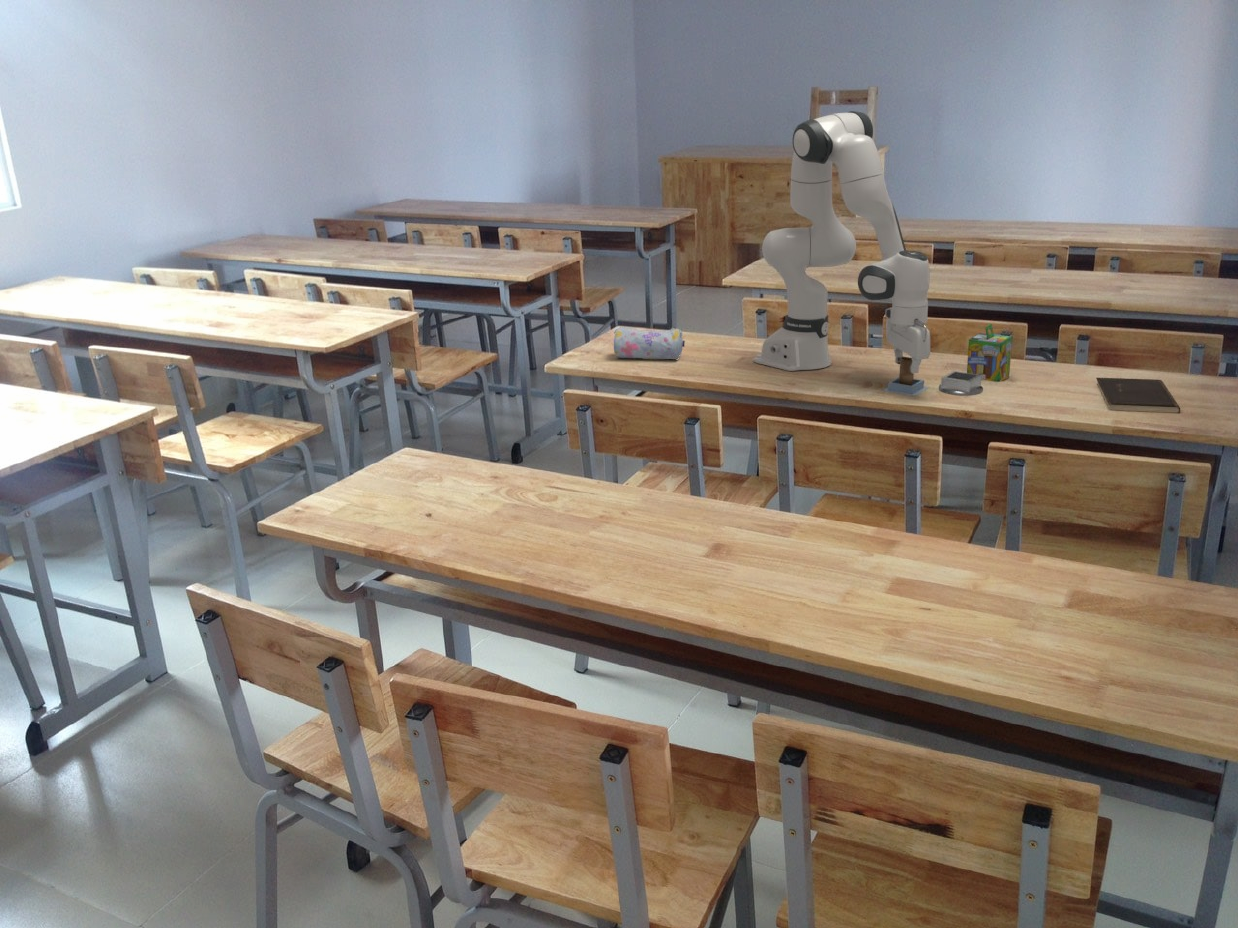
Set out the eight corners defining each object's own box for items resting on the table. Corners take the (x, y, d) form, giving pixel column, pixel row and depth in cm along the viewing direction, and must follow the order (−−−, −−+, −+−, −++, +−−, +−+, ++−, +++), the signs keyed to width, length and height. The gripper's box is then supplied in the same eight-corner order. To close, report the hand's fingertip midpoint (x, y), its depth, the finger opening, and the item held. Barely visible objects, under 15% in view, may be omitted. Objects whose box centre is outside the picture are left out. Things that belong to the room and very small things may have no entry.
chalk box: (998, 385, 286) (1003, 331, 281) (964, 380, 292) (969, 327, 287) (1010, 377, 293) (1015, 323, 288) (977, 372, 299) (981, 320, 293)
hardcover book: (1107, 412, 264) (1108, 403, 264) (1095, 385, 285) (1096, 377, 284) (1179, 415, 260) (1180, 406, 259) (1161, 388, 281) (1163, 379, 280)
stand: (881, 394, 283) (882, 383, 282) (897, 385, 290) (897, 374, 289) (914, 399, 278) (914, 388, 277) (929, 390, 284) (929, 379, 283)
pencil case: (685, 356, 327) (684, 325, 324) (680, 363, 319) (680, 332, 316) (617, 354, 331) (616, 324, 328) (611, 362, 324) (610, 331, 320)
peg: (896, 389, 283) (897, 358, 280) (902, 386, 286) (904, 355, 283) (909, 391, 281) (910, 360, 278) (915, 388, 284) (917, 357, 281)
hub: (931, 394, 281) (932, 378, 279) (948, 384, 289) (950, 368, 287) (972, 401, 274) (974, 384, 273) (989, 391, 282) (990, 374, 281)
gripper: (938, 323, 267) (935, 377, 272) (905, 307, 286) (902, 358, 291) (914, 325, 266) (911, 379, 271) (882, 308, 285) (880, 359, 290)
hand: (906, 368), depth 281 cm, fingers open, 8 cm apart
